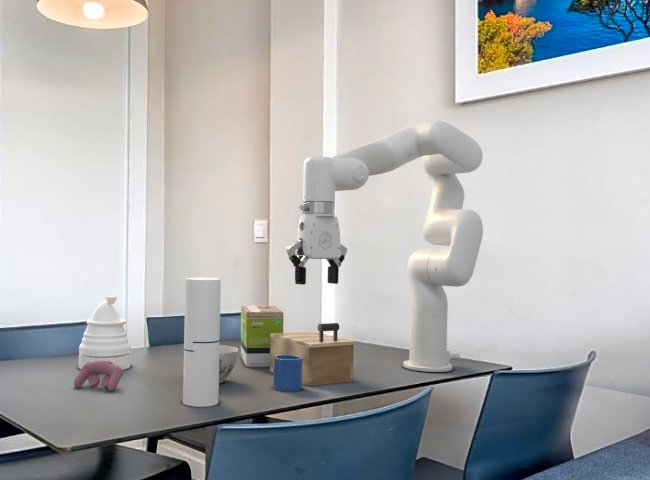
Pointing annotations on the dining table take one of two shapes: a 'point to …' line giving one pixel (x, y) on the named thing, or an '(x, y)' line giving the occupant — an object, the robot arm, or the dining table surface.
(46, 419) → the dining table surface
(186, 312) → the cylindrical container
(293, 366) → the cup
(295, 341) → the lid
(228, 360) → the teacup
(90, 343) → the honey pot
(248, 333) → the tea box
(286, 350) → the wooden box
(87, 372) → the video game controller
